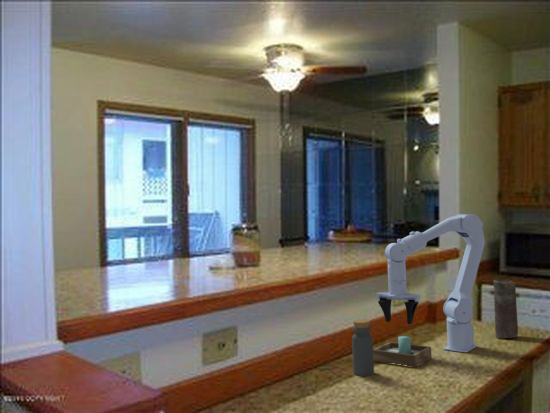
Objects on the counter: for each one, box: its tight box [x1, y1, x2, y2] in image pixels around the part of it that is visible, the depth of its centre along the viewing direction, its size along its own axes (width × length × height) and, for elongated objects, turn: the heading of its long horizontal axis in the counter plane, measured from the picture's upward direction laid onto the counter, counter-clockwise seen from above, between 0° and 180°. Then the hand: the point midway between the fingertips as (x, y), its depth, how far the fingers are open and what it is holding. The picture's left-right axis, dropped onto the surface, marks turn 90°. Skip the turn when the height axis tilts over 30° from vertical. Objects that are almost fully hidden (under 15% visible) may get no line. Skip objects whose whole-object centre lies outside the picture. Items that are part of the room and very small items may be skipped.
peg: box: [397, 335, 412, 355], centre depth 174 cm, size 4×4×7 cm
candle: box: [492, 278, 519, 339], centre depth 197 cm, size 8×7×20 cm
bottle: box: [351, 318, 375, 377], centre depth 163 cm, size 6×6×15 cm
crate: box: [373, 341, 433, 368], centre depth 175 cm, size 12×14×4 cm
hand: (399, 322), depth 183 cm, fingers open, 7 cm apart
